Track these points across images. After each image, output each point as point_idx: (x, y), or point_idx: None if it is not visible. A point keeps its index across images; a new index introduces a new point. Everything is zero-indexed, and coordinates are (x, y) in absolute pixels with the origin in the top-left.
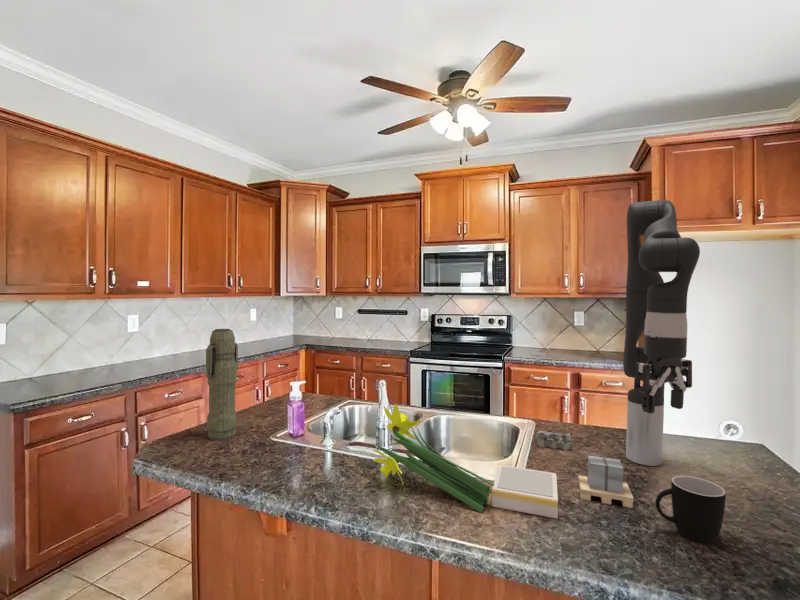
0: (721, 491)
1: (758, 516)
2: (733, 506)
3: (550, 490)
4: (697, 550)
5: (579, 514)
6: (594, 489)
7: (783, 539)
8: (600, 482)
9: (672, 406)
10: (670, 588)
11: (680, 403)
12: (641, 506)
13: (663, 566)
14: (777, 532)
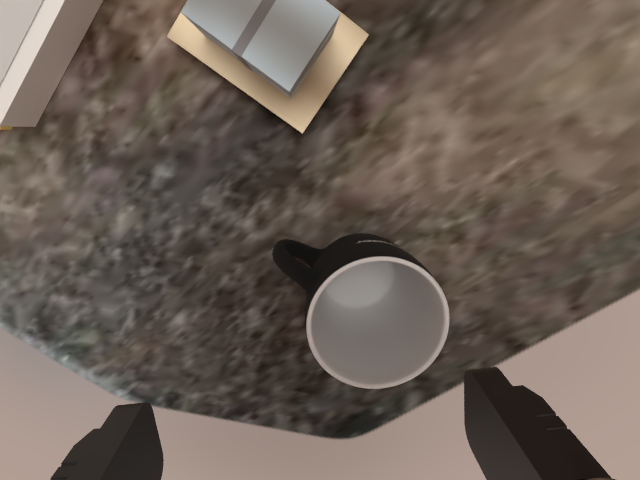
0: (428, 353)
1: (594, 248)
2: (591, 195)
3: (2, 61)
4: (299, 319)
5: (116, 122)
6: (214, 49)
7: (531, 330)
8: (229, 52)
9: (465, 382)
10: (137, 392)
11: (483, 472)
12: (335, 130)
13: (176, 343)
14: (552, 309)
